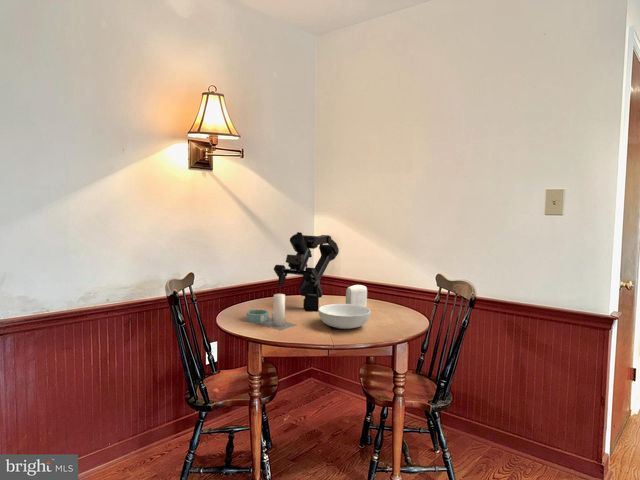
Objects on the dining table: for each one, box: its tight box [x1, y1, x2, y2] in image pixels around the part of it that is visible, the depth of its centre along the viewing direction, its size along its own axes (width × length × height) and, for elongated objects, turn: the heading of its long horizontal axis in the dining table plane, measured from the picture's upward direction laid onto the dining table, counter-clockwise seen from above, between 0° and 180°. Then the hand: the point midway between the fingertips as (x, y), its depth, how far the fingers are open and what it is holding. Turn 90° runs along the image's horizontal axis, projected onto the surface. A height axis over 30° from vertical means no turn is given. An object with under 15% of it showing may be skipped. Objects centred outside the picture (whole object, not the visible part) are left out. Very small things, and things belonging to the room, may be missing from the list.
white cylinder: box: [272, 293, 286, 326], centre depth 174 cm, size 4×4×12 cm
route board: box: [239, 312, 297, 331], centre depth 179 cm, size 23×10×4 cm, turn 52°
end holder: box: [246, 309, 269, 323], centre depth 182 cm, size 9×9×3 cm
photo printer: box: [345, 284, 368, 308], centre depth 199 cm, size 10×4×12 cm, turn 123°
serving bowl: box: [317, 303, 371, 330], centre depth 177 cm, size 21×21×7 cm
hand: (288, 289), depth 181 cm, fingers open, 9 cm apart
